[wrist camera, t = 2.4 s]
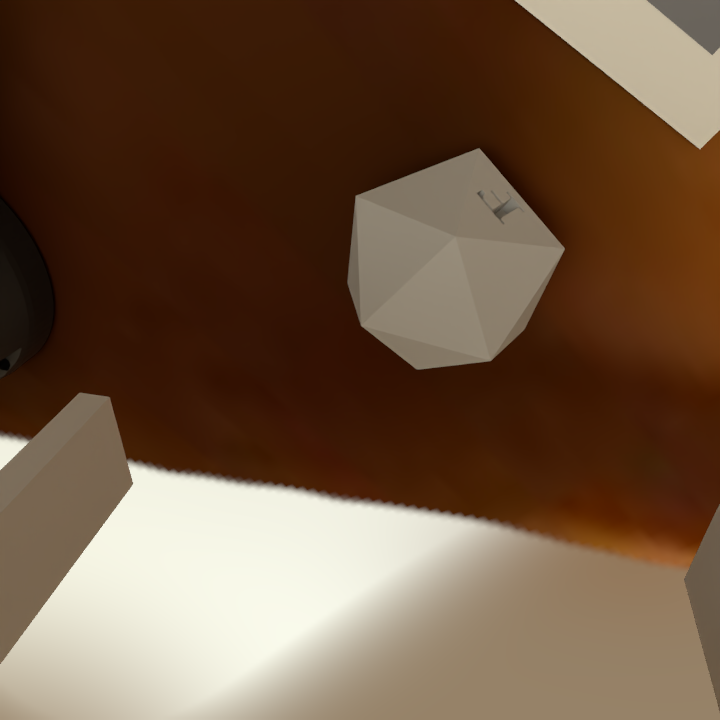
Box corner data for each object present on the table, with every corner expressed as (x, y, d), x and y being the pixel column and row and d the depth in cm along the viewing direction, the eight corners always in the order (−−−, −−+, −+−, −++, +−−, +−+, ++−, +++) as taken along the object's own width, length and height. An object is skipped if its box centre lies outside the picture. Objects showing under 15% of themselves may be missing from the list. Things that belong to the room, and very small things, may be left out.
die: (561, 298, 31) (636, 249, 21) (422, 407, 31) (431, 411, 21) (455, 171, 32) (478, 66, 22) (320, 279, 32) (281, 224, 22)
